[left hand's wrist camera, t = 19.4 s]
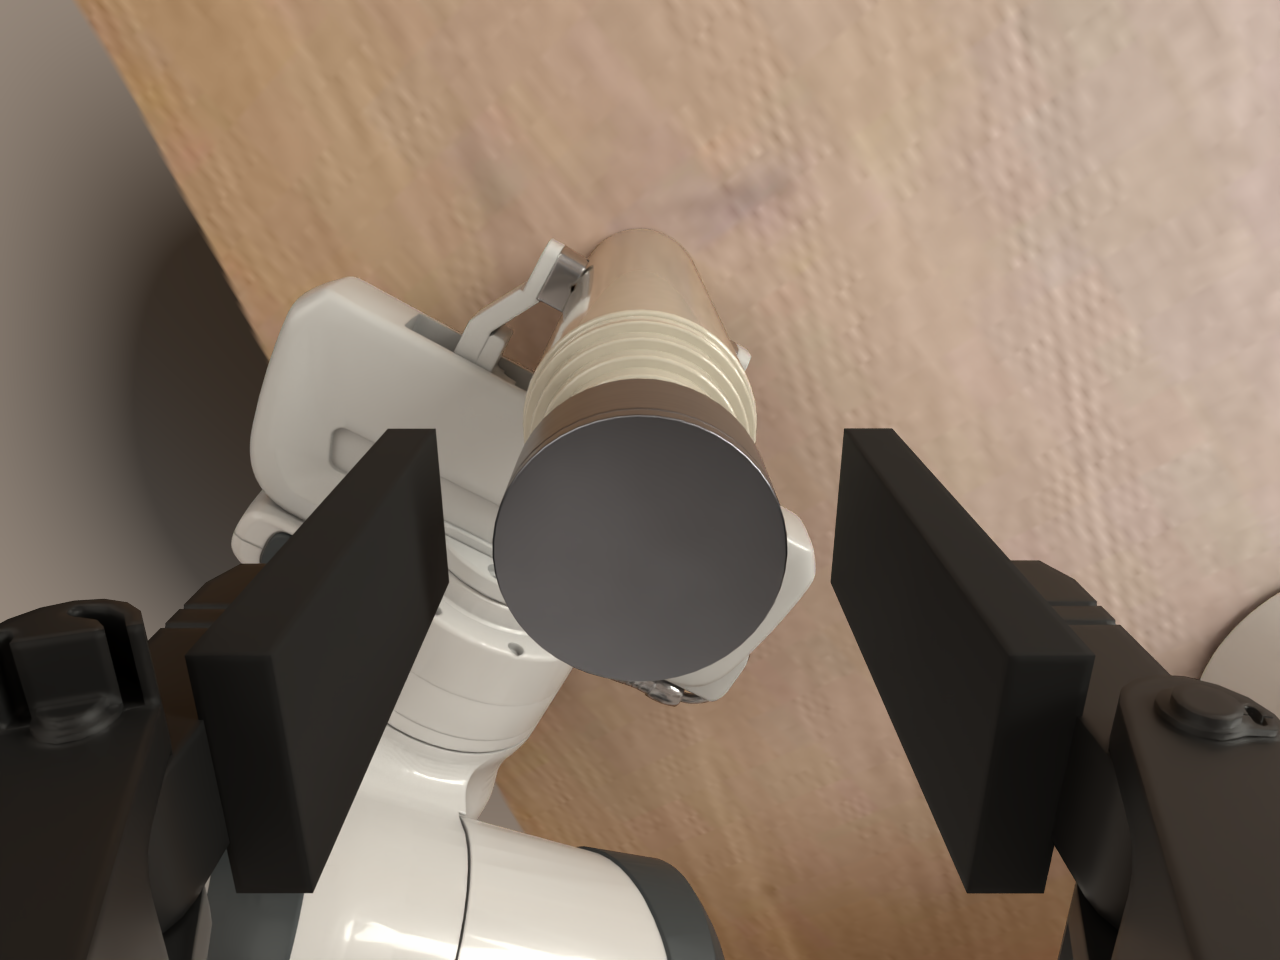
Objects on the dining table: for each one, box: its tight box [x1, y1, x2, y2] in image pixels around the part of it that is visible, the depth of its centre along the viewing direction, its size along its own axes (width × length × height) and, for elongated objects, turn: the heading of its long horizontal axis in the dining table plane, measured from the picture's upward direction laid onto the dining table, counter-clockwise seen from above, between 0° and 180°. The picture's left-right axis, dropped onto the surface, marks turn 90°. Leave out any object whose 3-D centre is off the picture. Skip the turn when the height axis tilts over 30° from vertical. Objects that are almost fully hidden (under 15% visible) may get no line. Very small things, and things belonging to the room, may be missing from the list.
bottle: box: [523, 228, 757, 444], centre depth 24 cm, size 5×5×24 cm
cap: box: [492, 378, 788, 682], centre depth 13 cm, size 4×4×2 cm
